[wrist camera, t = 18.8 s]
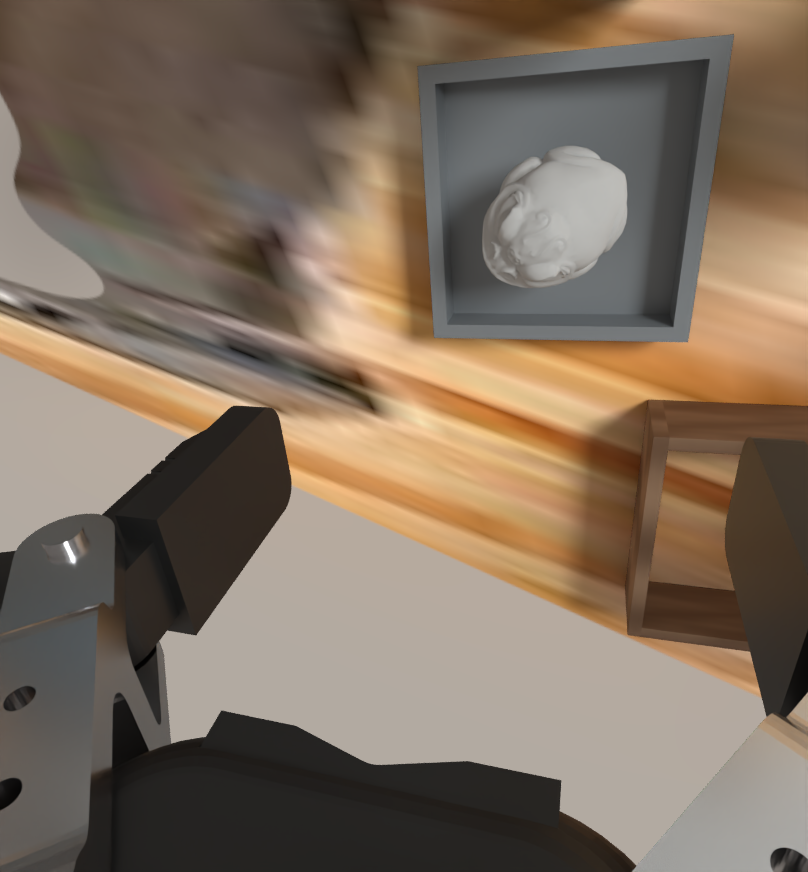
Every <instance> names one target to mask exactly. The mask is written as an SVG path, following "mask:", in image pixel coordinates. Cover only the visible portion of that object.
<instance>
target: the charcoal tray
mask: <svg viewBox="0 0 808 872" xmlns="http://www.w3.org/2000/svg"><path fill="white" fill-rule="evenodd" d="M733 38H734V34H732V35H722V36H712V37H702V38H692V39H683V40H673V41H663V42H653V43H643V44H633V45H623V46H613V47H603V48H593V49H583V50H573V51H563V52H554V53H544V54H534V55H524V56H514V57H504V58H494V59H484V60H474V61H464V62H454V63H444V64H435V65H425V66H418V82H419V99H420V115H421V132H422V148H423V165H424V181H425V197H426V214H427V230H428V247H429V263H430V280H431V296H432V312H433V329H434V338H477V339H534V340H590V341H647V342H688V338H689V332H690V325H691V318H692V312H693V305H694V298H695V292H696V285H697V278H698V272H699V265H700V258H701V252H702V245H703V238H704V232H705V225H706V218H707V212H708V205H709V198H710V192H711V185H712V178H713V171H714V165H715V158H716V151H717V145H718V138H719V131H720V125H721V118H722V111H723V105H724V98H725V91H726V85H727V78H728V71H729V65H730V58H731V51H732V45H733ZM562 146H579V147H585V148H588V149H590V150H592V151H593V152H595V153H596V154H598V155H599V157H600V159H601V160H603V161H606V162H608V163H611V164H612V165H614V166H615V167H617V168H618V169H620V170H621V171H622V172H623V173H624V174H625V177H626V181H627V203H626V204H627V220H626V225H625V227H624V230H623V232H622V234H621V236H620V237H619V238H618V240H617V241H616V242H615V243H614V244H613V246H612V247H611V249H610V250H609V251H607V252H606V253H602V254H601V255H600V256H599V257H598V260H597V262H596V264H595V265H594V266H593V267H592V268H591V269H590V270H589V271H588V272H586V273H585V274H583V275H581V276H579V277H577V278H575V279H571V280H568V281H566V282H565V283H561V284H558V285H554V286H550V287H544V288H536V287H534V288H523V287H519V286H514V285H510V284H508V283H505V282H503V281H501V280H499V279H497V278H496V277H495V276H494V275H493V274H492V273H491V271H490V270H489V268H488V267H487V265H486V263H485V261H484V257H483V252H482V234H483V222H484V218H485V214H486V212H487V210H488V209H489V207H490V205H491V203H492V202H493V201H494V200H495V199H496V197H497V196H498V195H499V193H500V188H501V186H502V183H503V181H504V179H505V177H506V176H507V175H508V174H509V172H510V171H511V170H512V169H513V168H514V167H515V166H517V165H518V164H519V163H521V162H523V161H524V160H526V159H527V158H530V157H538V158H540V159H543V158H544V155H545V154H546V153H547V152H548V151H549V150H552V149H555V148H558V147H562Z"/></svg>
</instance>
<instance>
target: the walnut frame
mask: <svg viewBox="0 0 808 872" xmlns="http://www.w3.org/2000/svg"><path fill="white" fill-rule="evenodd" d="M748 437H760V438H777V439H794V440H804V441H805V442H806V443H807V445H808V406H789V405H764V404H740V403H715V402H691V401H666V400H648V405H647V413H646V422H645V430H644V438H643V446H642V454H641V462H640V470H639V479H638V487H637V495H636V503H635V511H634V519H633V528H632V536H631V544H630V552H629V560H628V568H627V576H626V585H625V594H626V614H627V633H628V635H631V636H639V637H646V638H654V639H661V640H668V641H676V642H683V643H691V644H698V645H705V646H713V647H720V648H728V649H735V650H742V651H750V649H749V645H748V641H747V637H746V633H745V629H744V625H743V621H742V617H741V613H740V609H739V605H738V601H737V597H736V593H735V591H728V590H719V589H710V588H701V587H692V586H684V585H675V584H666V583H657V582H649V576H650V569H651V562H652V555H653V548H654V541H655V535H656V528H657V521H658V514H659V507H660V500H661V494H662V487H663V480H664V473H665V466H666V459H667V453H668V450H669V451H685V452H702V453H718V454H735V455H741V451H742V448H743V445H744V442H745V441H746V439H747V438H748Z"/></svg>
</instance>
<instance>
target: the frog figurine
mask: <svg viewBox="0 0 808 872" xmlns="http://www.w3.org/2000/svg"><path fill="white" fill-rule="evenodd" d="M626 203H627V181H626V177H625V174H624V173H623V172H622V171H621V170H620V169H618V168H617V167H615V166H614V165H612V164H611V163H608V162H606V161H603V160H601V159H600V157H599V155H598V154H596V153H595V152H593V151H592V150H590V149H588V148H585V147H579V146H562V147H558V148H555V149H552V150H549V151H548V152H547V153H546V154H545V155H544V158H543V159H540V158H538V157H530V158H527V159H526V160H524V161H523V162H521V163H519V164H518V165H517V166H515V167H514V168H513V169H512V170H511V171H510V172H509V174H508V175H507V176H506V177H505V179H504V181H503V183H502V186H501V188H500V193H499V195H498V196H497V197H496V199H495V200H494V201H493V202H492V203H491V205H490V207H489V209H488V210H487V212H486V214H485V218H484V222H483V234H482V252H483V257H484V261H485V263H486V265H487V267H488V268H489V270H490V271H491V273H492V274H493V275H494V276H495V277H496V278H497V279H499V280H501V281H503V282H505V283H508V284H510V285H514V286H519V287H523V288H534V287H536V288H544V287H550V286H554V285H558V284H561V283H565V282H566V281H568V280H571V279H575V278H577V277H579V276H581V275H583V274H585V273H586V272H588V271H589V270H590V269H591V268H592V267H593V266H594V265H595V264H596V262H597V260H598V257H599V256H600V255H601V254H602V253H606V252H607V251H609V250H610V249H611V247H612V246H613V244H614V243H615V242H616V241H617V240H618V238H619V237H620V236H621V234H622V232H623V230H624V227H625V225H626V220H627V204H626Z"/></svg>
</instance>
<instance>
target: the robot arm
mask: <svg viewBox="0 0 808 872" xmlns="http://www.w3.org/2000/svg"><path fill="white" fill-rule="evenodd" d="M290 494H291V475H290V470H289V465H288V460H287V455H286V450H285V445H284V440H283V435H282V430H281V425H280V420H279V417H278V415H277V413H276V411H275V410H274V409H272V408H266V407H249V406H233V407H231V408H229V409H228V410H227V411H226V412H225V413H224V414H223V415H222V416H221V417H220V418H219V419H217V420H216V421H215V422H214V423H213V424H212V425H211V426H210V427H209V428H208V429H206V430H204V431H202V432H200V433H199V434H197V435H195V436H193V437H191V438H189V439H187V440H185V441H183V442H182V443H181V444H180V445H179V446H178V447H176V448H175V449H174V450H173V451H172V452H171V453H170V454H169V455H168V456H166V458H165V461H161V462H160V463H159V464H158V465H157V466H155V467H154V468H153V469H152V470H151V474H147V475H146V476H144V477H143V478H142V479H141V480H140V481H139V482H138V483H137V484H136V485H134V486H133V487H132V488H131V489H130V490H129V491H128V492H127V493H126V494H124V495H123V496H122V497H121V498H120V499H119V500H118V501H117V502H116V503H114V504H113V505H112V506H111V507H110V508H109V509H108V510H107V511H106V512H105V513H104V514H102V515H99V514H81V515H75V516H70V517H66V518H63V519H60V520H57V521H55V522H53V523H50V524H48V525H46V526H44V527H42V528H40V529H39V530H37V531H35V532H34V533H33V534H31V535H30V536H29V537H27V538H26V539H25V540H24V541H23V542H22V543H21V544H20V545H19V547H18V548H17V550H16V551H11V552H2V553H0V872H808V445H807V443H806V442H805V441H804V440H794V439H777V438H760V437H748V438H747V439H746V441H745V442H744V445H743V448H742V451H741V456H740V460H739V465H738V469H737V474H736V478H735V483H734V487H733V492H732V496H731V501H730V506H729V510H728V515H727V520H726V528H725V551H726V557H727V561H728V565H729V569H730V573H731V577H732V581H733V585H734V589H735V593H736V597H737V601H738V605H739V609H740V613H741V617H742V621H743V625H744V629H745V633H746V637H747V641H748V645H749V649H750V653H751V657H752V661H753V665H754V668H755V672H756V676H757V680H758V684H759V688H760V692H761V696H762V700H763V704H764V708H765V712H766V716H767V718H766V719H764V720H763V721H762V722H761V723H760V725H759V726H758V727H757V728H756V729H755V730H754V731H753V733H752V734H751V735H750V736H749V738H748V739H746V741H745V742H744V743H743V744H742V745H741V747H740V748H739V749H738V750H737V751H736V752H735V753H734V754H733V756H732V757H731V758H730V759H729V760H728V761H727V763H726V764H725V765H724V766H723V767H722V768H721V769H720V771H719V772H718V773H717V774H716V775H715V777H714V778H713V779H712V780H711V781H710V782H709V783H708V784H707V786H706V787H705V788H704V789H703V790H702V791H701V793H700V794H699V795H698V796H697V797H696V798H695V800H694V801H693V802H692V803H691V804H690V805H689V806H688V807H687V809H686V810H685V811H684V812H683V813H682V814H681V816H680V817H679V818H678V819H677V820H676V821H675V823H674V824H673V825H672V826H671V827H670V828H669V829H668V831H667V832H666V833H665V834H664V835H663V836H662V838H661V839H660V840H659V841H658V842H657V843H656V844H655V846H654V847H653V848H652V849H651V850H650V851H649V852H648V854H647V855H646V856H645V857H644V858H643V859H642V861H641V862H640V863H639V864H638V865H637V866H636V865H635V864H634V863H633V862H632V861H631V860H630V859H629V858H628V857H627V856H626V855H625V854H624V853H623V852H622V851H620V850H619V849H618V848H617V847H615V846H614V845H613V844H612V843H610V842H609V841H608V840H607V839H605V838H604V837H603V836H602V835H600V834H598V833H597V832H595V831H594V830H592V829H591V828H589V827H588V826H586V825H585V824H583V823H581V822H580V821H578V820H576V819H574V818H572V817H570V816H568V815H566V814H564V813H562V812H560V811H559V810H560V792H561V780H556V779H551V778H546V777H542V776H537V775H532V774H527V773H522V772H517V771H512V770H508V769H503V768H498V767H493V766H488V765H483V764H478V763H474V762H468V761H466V762H464V761H463V762H440V763H417V764H396V765H395V764H394V765H373V764H369V763H366V762H364V761H362V760H360V759H358V758H356V757H354V756H352V755H350V754H348V753H346V752H344V751H342V750H340V749H338V748H337V747H335V746H333V745H331V744H329V743H327V742H325V741H323V740H322V739H320V738H318V737H316V736H314V735H312V734H310V733H308V732H306V731H304V730H303V729H301V728H299V727H297V726H294V725H289V724H284V723H279V722H274V721H269V720H264V719H259V718H254V717H249V716H245V715H240V714H235V713H231V712H226V711H221V712H220V714H219V716H218V717H217V719H216V721H215V722H214V724H213V726H212V727H211V729H210V731H209V733H208V734H207V736H206V737H202V738H196V739H190V740H184V741H179V742H176V743H172V744H171V738H170V725H169V713H168V700H167V689H166V677H165V663H164V654H163V650H162V647H161V645H160V642H159V640H160V639H161V638H162V636H163V635H164V634H165V632H166V631H167V630H168V631H174V632H180V633H185V634H191V635H197V633H198V632H199V630H200V629H201V628H202V626H203V625H204V623H205V622H206V621H207V619H208V618H209V616H210V615H211V613H212V612H213V611H214V609H215V608H216V606H217V605H218V604H219V602H220V601H221V599H222V598H223V596H224V595H225V594H226V592H227V591H228V589H229V588H230V587H231V585H232V584H233V582H234V581H235V580H236V578H237V577H238V575H239V574H240V573H241V571H242V570H243V568H244V567H245V565H246V564H247V563H248V561H249V560H250V559H251V557H252V556H253V554H254V553H255V551H256V550H257V549H258V547H259V546H260V544H261V543H262V541H263V540H264V539H265V537H266V536H267V535H268V533H269V532H270V530H271V529H272V527H273V526H274V525H275V523H276V522H277V520H278V519H279V518H280V516H281V515H282V513H283V512H284V511H285V509H286V507H287V505H288V502H289V499H290Z"/></svg>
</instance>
